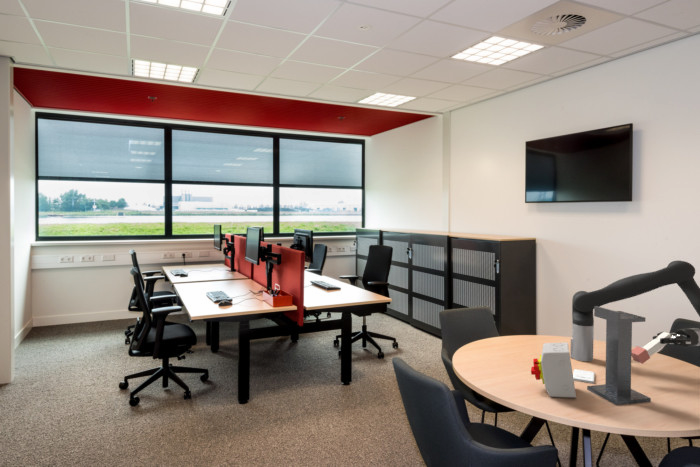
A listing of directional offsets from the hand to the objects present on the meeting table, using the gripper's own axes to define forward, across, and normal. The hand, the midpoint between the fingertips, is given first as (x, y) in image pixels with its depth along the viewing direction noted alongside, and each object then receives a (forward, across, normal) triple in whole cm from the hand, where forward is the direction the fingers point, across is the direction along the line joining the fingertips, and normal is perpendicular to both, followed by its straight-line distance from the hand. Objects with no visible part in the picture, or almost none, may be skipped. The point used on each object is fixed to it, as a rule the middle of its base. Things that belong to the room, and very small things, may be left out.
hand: (657, 340), depth 183 cm
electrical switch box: (+49, 0, +18) cm, 52 cm away
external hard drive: (+27, -10, +18) cm, 34 cm away
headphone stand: (+28, +9, +18) cm, 34 cm away
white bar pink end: (+2, 0, +4) cm, 5 cm away
